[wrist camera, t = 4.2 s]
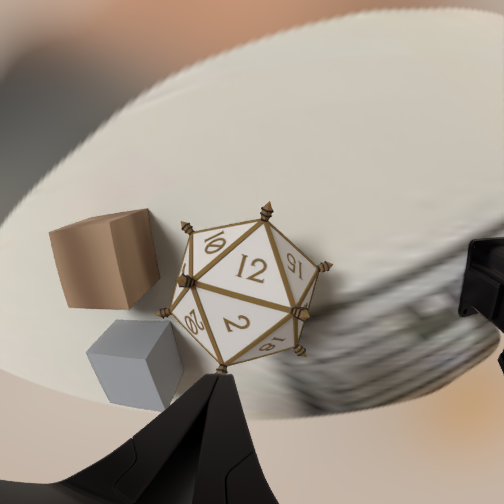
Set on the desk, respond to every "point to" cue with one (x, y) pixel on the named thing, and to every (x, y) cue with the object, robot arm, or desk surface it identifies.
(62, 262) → the walnut block
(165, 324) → the slate block
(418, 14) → the desk surface
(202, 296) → the game die
